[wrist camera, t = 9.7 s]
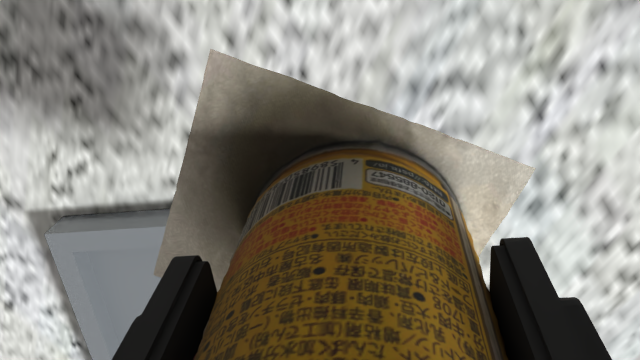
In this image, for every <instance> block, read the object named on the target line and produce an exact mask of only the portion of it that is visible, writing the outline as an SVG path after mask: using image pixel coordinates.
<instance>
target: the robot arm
mask: <svg viewBox="0 0 640 360" xmlns="http://www.w3.org/2000/svg"><path fill="white" fill-rule="evenodd" d="M490 295H491V300H492V306H493V310H494V312H495V314H496V317H497V319H498V325H499V329H500V332H501V335H502V337H503V339H504V343H505V349H506V355H507V357H508V359H509V360H612V359H611V357H610V355H609V353H608V351H607V350H606V348H605V346H604V344H603V342H602V340H601V338H600V337H599V335H598V333H597V331H596V329H595V327H594V325H593V324H592V322H591V320H590V318H589V316H588V314H587V312H586V311H585V309H584V307H583V305H582V304H581V302H580V301H579V299H577V298H575V297H571V298H559V297H558V295H557V293H556V291H555V289H554V287H553V285H552V283H551V281H550V279H549V277H548V275H547V273H546V271H545V268H544V266H543V264H542V262H541V260H540V258H539V256H538V254H537V252H536V250H535V248H534V246H533V244H532V242H531V240H530V239H529V238H528V237H524V238H505V239H501V241H500V246H492V247H491V262H490ZM216 296H217V289H216V285H215V281H214V278H213V274H212V270H211V266H210V264H209V262H208V261H202V258H201V257H200V256H199V255H193V256H176V257H173V259H172V260H171V262H170V264H169V265H168V267H167V269H166V271H165V273H164V275H163V276H162V278H161V280H160V282H159V284H158V285H157V287H156V289H155V291H154V293H153V295H152V296H151V298H150V300H149V302H148V304H147V305H146V307H145V309H144V311H143V313H142V314H141V315H140V316H138V317H136V319H135V320H134V321H133V323H132V324H131V326H130V328H129V330H128V332H127V333H126V335H125V337H124V339H123V340H122V342H121V344H120V346H119V348H118V349H117V351H116V353H115V355H114V356H113V358H112V360H193V358H194V356H195V355H196V353H197V352H198V347H199V345H200V343H201V340H202V338H203V331H204V329H205V327H206V325H207V322H208V321H209V317H210V314H211V311H212V309H213V306H214V304H215V301H216Z"/></svg>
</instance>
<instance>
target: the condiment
mask: <svg viewBox="0 0 640 360" xmlns="http://www.w3.org/2000/svg"><path fill="white" fill-rule="evenodd" d="M535 169H536V168H533V167H530V166H527V165H525V164H522V163H519V162H517V161H514V160H512V159H509V158H507V157H504V156H501V155H499V154H496V153H493V152H491V151H488V150H486V149H483V148H481V147H478V146H476V145H473V144H471V143H468V142H465V141H462V140H459V139H455V138H452V137H450V136H448V135H446V134H444V133H441V132H439V131H436V130H433V129H431V128H428V127H425V126H423V125H420V124H417V123H413V122H410V121H408V120H406V119H403V118H401V117H398V116H395V115H392V114H389V113H386V112H383V111H380V110H377V109H375V108H373V107H370V106H366V105H363V104H359V103H356V102H353V101H350V100H347V99H344V98H341V97H339V96H337V95H335V94H333V93H330V92H328V91H325V90H322V89H319V88H317V87H314V86H311V85H309V84H306V83H304V82H301V81H299V80H296V79H294V78H292V77H289V76H285V75H282V74H279V73H276V72H273V71H270V70H267V69H263V68H260V67H257V66H254V65H251V64H248V63H246V62H244V61H241V60H239V59H236V58H234V57H231V56H228V55H226V54H223V53H220V52H217V51H215V50H212V49H211V50H210V53H209V58H208V62H207V66H206V69H205V73H204V80H203V84H202V89H201V92H200V96H199V100H198V104H197V108H196V112H195V116H194V120H193V124H192V128H191V132H190V135H189V139H188V144H187V148H186V153H185V156H184V160H183V164H182V167H181V171H180V175H179V179H178V183H177V190H176V192H175V195H174V198H173V202H172V205H171V209H170V214H169V217H168V220H167V224H166V229H165V233H164V237H163V241H162V245H161V247H160V251H159V255H158V258H157V262H156V266H155V270H154V274H153V275H155V276H157V277H160V278H162V276H163V275H164V273H165V271H166V269H167V267H168V265H169V264H170V262H171V260H172V259H173V257H176V256H193V255H199V256H200V257H201V258H202V261H208V262H209V264H210V266H211V270H212V274H213V278H214V281H215V285H216V289H217V296H216V301H215V304H214V306H213V309H212V311H211V314H210V317H209V321H208V322H207V325H206V327H205V329H204V331H203V338H202V340H201V343H200V345H199V347H198V352H197V353H196V355H195V356H194V358H193V360H509V359H508V357H507V355H506V349H505V343H504V339H503V337H502V335H501V332H500V329H499V325H498V319H497V317H496V314H495V312H494V310H493V306H492V300H491V295H490V292H489V290H488V289H487V287H486V284H485V282H484V279H483V274H482V269H481V266H480V264H479V257H478V256H479V255H480V254H481V252H482V250H483V248H484V247H485V245H486V244H487V242H488V241H489V239H490V237H491V236H492V234H493V233H494V232H495V231H496V229H497V228H498V226H499V225H500V224H501V222H502V220H503V219H504V218H505V217H506V215H507V214H508V212H509V210H510V208H511V207H512V205H513V204H514V202H515V201H516V199H517V198H518V196H519V195H520V193H521V192H522V190H523V188H524V187H525V185H526V184H527V182H528V180H529V179H530V177H531V175H532V174H533V172H534V170H535Z"/></svg>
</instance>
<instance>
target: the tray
mask: <svg viewBox="0 0 640 360" xmlns="http://www.w3.org/2000/svg"><path fill="white" fill-rule="evenodd" d="M169 214H170V209H161V210H147V211H132V212H118V213H103V214H88V215H74V216H63V217H62V218H61V219H60V220H59V221H58V222H57V223H56V224H55V225H54V226H53V227H51V228H50V229H49V230H48V231H47V232H46V233H45V234H44V235H45V238H46V240H47V243H48V245H49V248H50V251H51V253H52V256H53V258H54V261H55V264H56V266H57V269H58V271H59V274H60V277H61V279H62V282H63V284H64V287H65V290H66V292H67V295H68V298H69V300H70V303H71V305H72V308H73V311H74V313H75V316H76V318H77V321H78V324H79V326H80V329H81V331H82V334H83V337H84V339H85V342H86V344H87V347H88V350H89V352H90V355H91V357H92V360H112V358H113V356H114V355H115V353H116V351H117V349H118V348H119V346H120V344H121V342H122V340H123V339H124V337H125V335H126V333H127V332H128V330H129V328H130V326H131V324H132V323H133V321H134V320H135V319H136V317H138V316H140V315H141V314H142V313H143V311H144V309H145V307H146V305H147V304H148V302H149V300H150V298H151V296H152V295H153V293H154V291H155V289H156V287H157V285H158V284H159V282H160V280H161V278H160V277H157V276H155V275H153V274H154V270H155V266H156V262H157V258H158V255H159V251H160V247H161V245H162V241H163V237H164V233H165V229H166V224H167V220H168V217H169Z"/></svg>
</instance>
